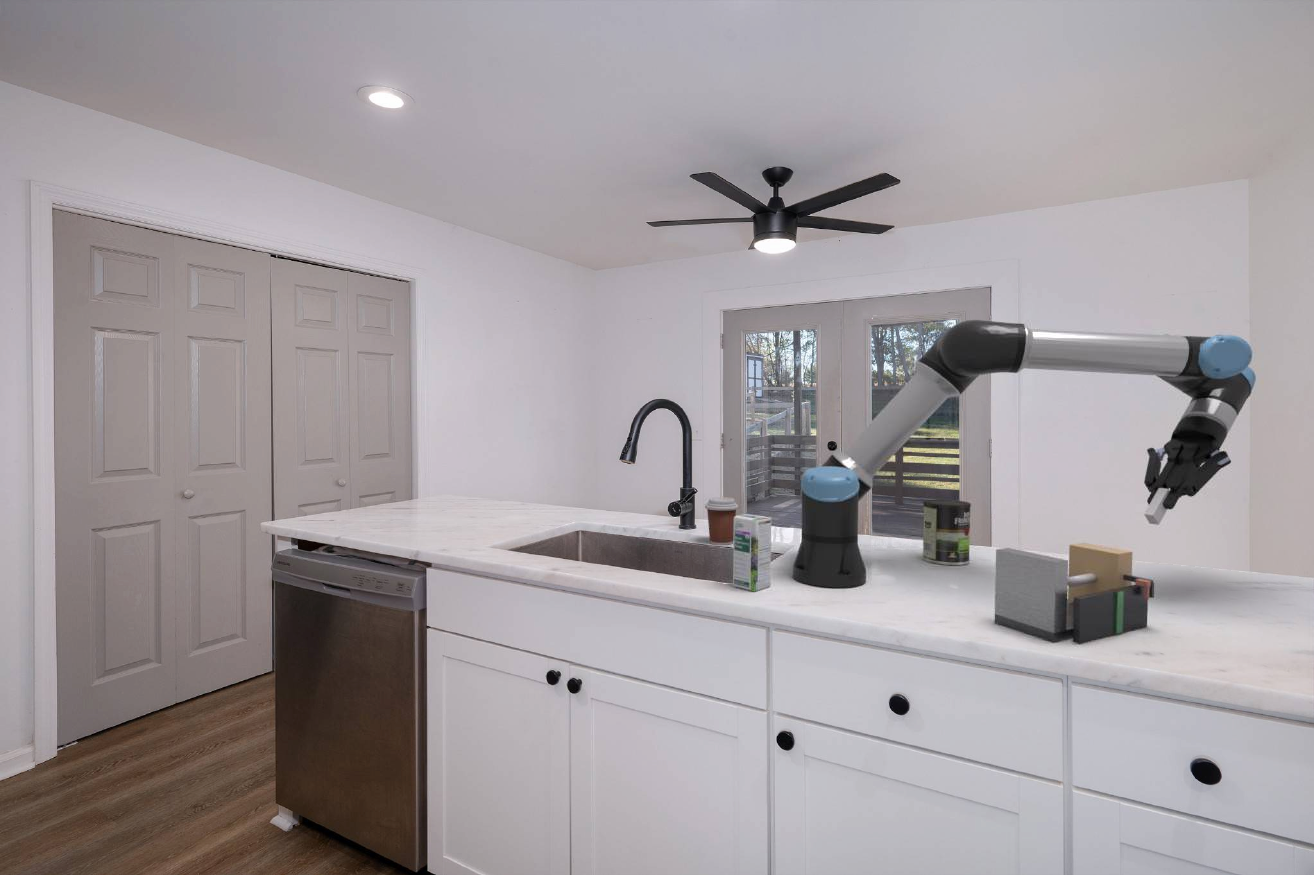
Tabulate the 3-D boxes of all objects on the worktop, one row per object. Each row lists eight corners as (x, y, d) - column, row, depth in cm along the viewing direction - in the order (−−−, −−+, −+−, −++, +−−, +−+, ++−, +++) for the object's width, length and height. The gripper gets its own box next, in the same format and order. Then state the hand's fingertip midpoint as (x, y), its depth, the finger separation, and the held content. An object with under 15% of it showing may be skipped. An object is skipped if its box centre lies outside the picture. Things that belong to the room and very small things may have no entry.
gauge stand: (1076, 605, 114) (1077, 538, 114) (1152, 626, 103) (1154, 551, 102) (994, 622, 105) (996, 549, 104) (1069, 647, 94) (1071, 565, 93)
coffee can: (978, 561, 148) (979, 502, 147) (955, 568, 142) (956, 506, 141) (936, 553, 156) (937, 497, 155) (913, 559, 150) (914, 501, 149)
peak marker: (1138, 595, 102) (1139, 578, 102) (1150, 598, 101) (1150, 581, 101) (1135, 596, 102) (1135, 579, 102) (1146, 599, 100) (1147, 582, 100)
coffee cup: (729, 547, 163) (729, 502, 163) (698, 544, 168) (698, 499, 168) (743, 541, 171) (743, 498, 170) (713, 538, 176) (714, 495, 175)
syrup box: (731, 586, 127) (732, 516, 126) (749, 581, 131) (749, 512, 130) (754, 592, 123) (754, 519, 122) (772, 586, 127) (772, 516, 126)
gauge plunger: (1081, 597, 113) (1083, 542, 113) (1159, 617, 102) (1161, 557, 102) (1046, 604, 109) (1047, 548, 108) (1123, 626, 98) (1124, 563, 97)
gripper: (1252, 442, 116) (1201, 539, 110) (1171, 439, 128) (1120, 526, 121) (1239, 414, 113) (1186, 511, 107) (1157, 413, 125) (1105, 501, 119)
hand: (1151, 519), depth 114 cm, fingers closed
